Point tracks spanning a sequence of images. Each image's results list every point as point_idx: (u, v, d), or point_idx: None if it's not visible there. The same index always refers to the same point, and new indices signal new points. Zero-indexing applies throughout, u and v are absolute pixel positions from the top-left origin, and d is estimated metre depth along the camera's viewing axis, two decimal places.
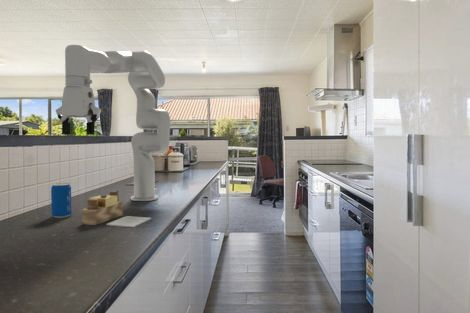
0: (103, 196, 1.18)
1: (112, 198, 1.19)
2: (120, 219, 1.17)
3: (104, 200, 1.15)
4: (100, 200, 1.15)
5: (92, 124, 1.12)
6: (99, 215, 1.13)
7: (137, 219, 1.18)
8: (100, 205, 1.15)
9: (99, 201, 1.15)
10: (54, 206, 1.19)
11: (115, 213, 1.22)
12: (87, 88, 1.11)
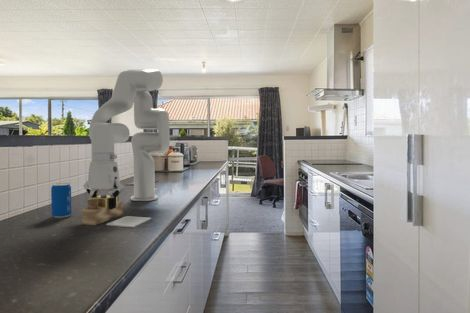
0: (103, 196, 1.18)
1: None
2: (120, 219, 1.17)
3: (104, 200, 1.15)
4: (100, 200, 1.15)
5: (114, 199, 1.18)
6: (99, 215, 1.13)
7: (137, 219, 1.18)
8: (100, 205, 1.15)
9: (99, 201, 1.15)
10: (54, 206, 1.19)
11: (115, 213, 1.22)
12: (112, 163, 1.16)
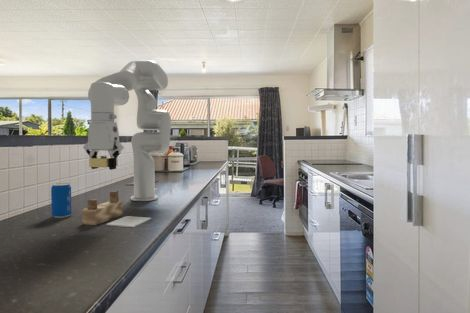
0: (103, 157, 1.18)
1: None
2: (120, 219, 1.17)
3: (104, 160, 1.14)
4: (100, 160, 1.15)
5: (114, 160, 1.17)
6: (99, 215, 1.13)
7: (137, 219, 1.18)
8: (100, 165, 1.15)
9: (99, 161, 1.15)
10: (54, 206, 1.19)
11: (115, 213, 1.22)
12: (112, 123, 1.16)
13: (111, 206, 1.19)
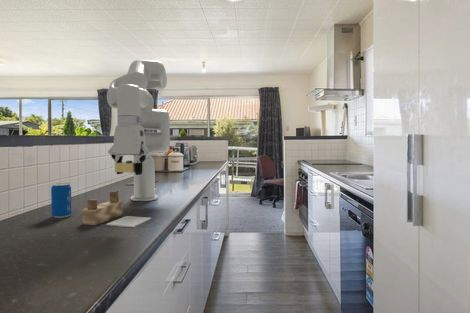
0: (129, 161, 1.14)
1: None
2: (120, 219, 1.17)
3: (131, 165, 1.10)
4: (126, 165, 1.11)
5: (140, 164, 1.13)
6: (99, 215, 1.13)
7: (137, 219, 1.18)
8: (126, 170, 1.11)
9: (125, 166, 1.11)
10: (54, 206, 1.19)
11: (115, 213, 1.22)
12: (139, 127, 1.12)
13: (111, 206, 1.19)
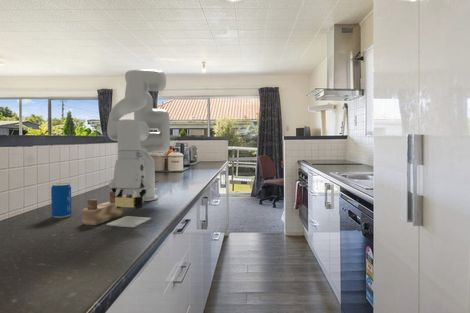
0: (129, 195, 1.14)
1: None
2: (120, 219, 1.17)
3: (131, 199, 1.11)
4: (127, 199, 1.11)
5: (141, 198, 1.14)
6: (99, 215, 1.13)
7: (137, 219, 1.18)
8: (127, 205, 1.12)
9: (125, 201, 1.12)
10: (54, 206, 1.19)
11: (115, 213, 1.22)
12: (139, 161, 1.13)
13: (111, 206, 1.19)
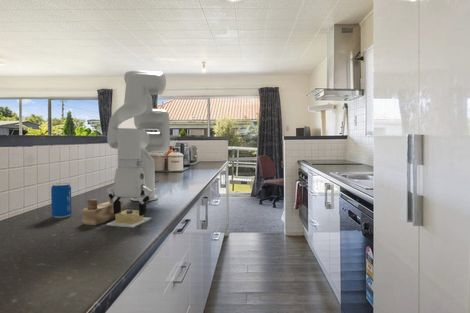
0: (129, 211, 1.15)
1: (138, 213, 1.15)
2: None
3: (131, 216, 1.12)
4: (127, 216, 1.12)
5: (144, 205, 1.14)
6: (99, 215, 1.13)
7: None
8: (127, 221, 1.12)
9: (126, 217, 1.12)
10: (54, 206, 1.19)
11: None
12: (139, 170, 1.13)
13: (111, 206, 1.19)
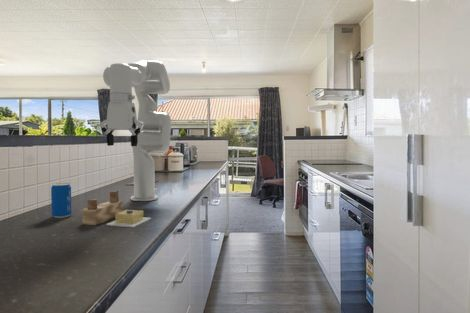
0: (129, 211, 1.15)
1: (138, 213, 1.15)
2: None
3: (131, 216, 1.12)
4: (127, 216, 1.12)
5: (136, 137, 1.22)
6: (99, 215, 1.13)
7: None
8: (127, 221, 1.12)
9: (126, 217, 1.12)
10: (54, 206, 1.19)
11: (115, 213, 1.22)
12: (131, 103, 1.20)
13: (111, 206, 1.19)
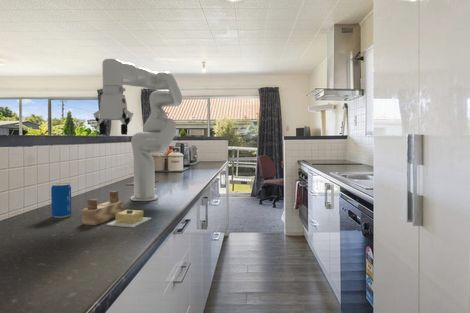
0: (129, 211, 1.15)
1: (138, 213, 1.15)
2: None
3: (131, 216, 1.12)
4: (127, 216, 1.12)
5: (125, 126, 1.32)
6: (99, 215, 1.13)
7: None
8: (127, 221, 1.12)
9: (126, 217, 1.12)
10: (54, 206, 1.19)
11: (115, 213, 1.22)
12: (121, 95, 1.31)
13: (111, 206, 1.19)
